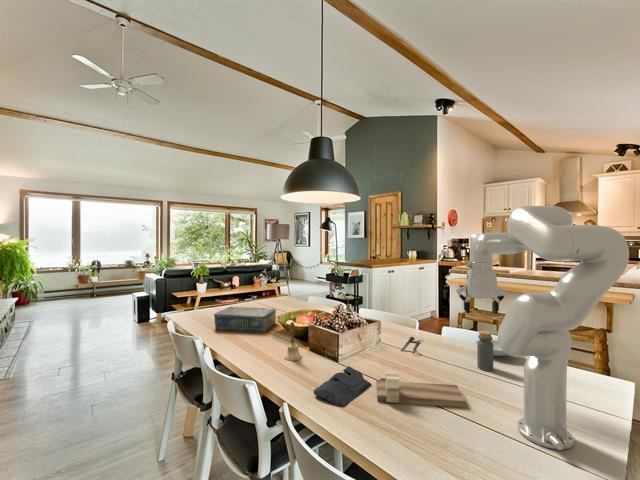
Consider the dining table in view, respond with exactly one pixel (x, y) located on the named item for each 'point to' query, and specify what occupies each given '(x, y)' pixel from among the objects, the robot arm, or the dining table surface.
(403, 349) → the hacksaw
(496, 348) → the dish
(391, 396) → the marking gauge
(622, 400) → the dining table surface
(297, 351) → the hand bell
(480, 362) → the bottle
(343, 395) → the dark slate chunk
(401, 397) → the walnut board
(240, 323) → the metal box
